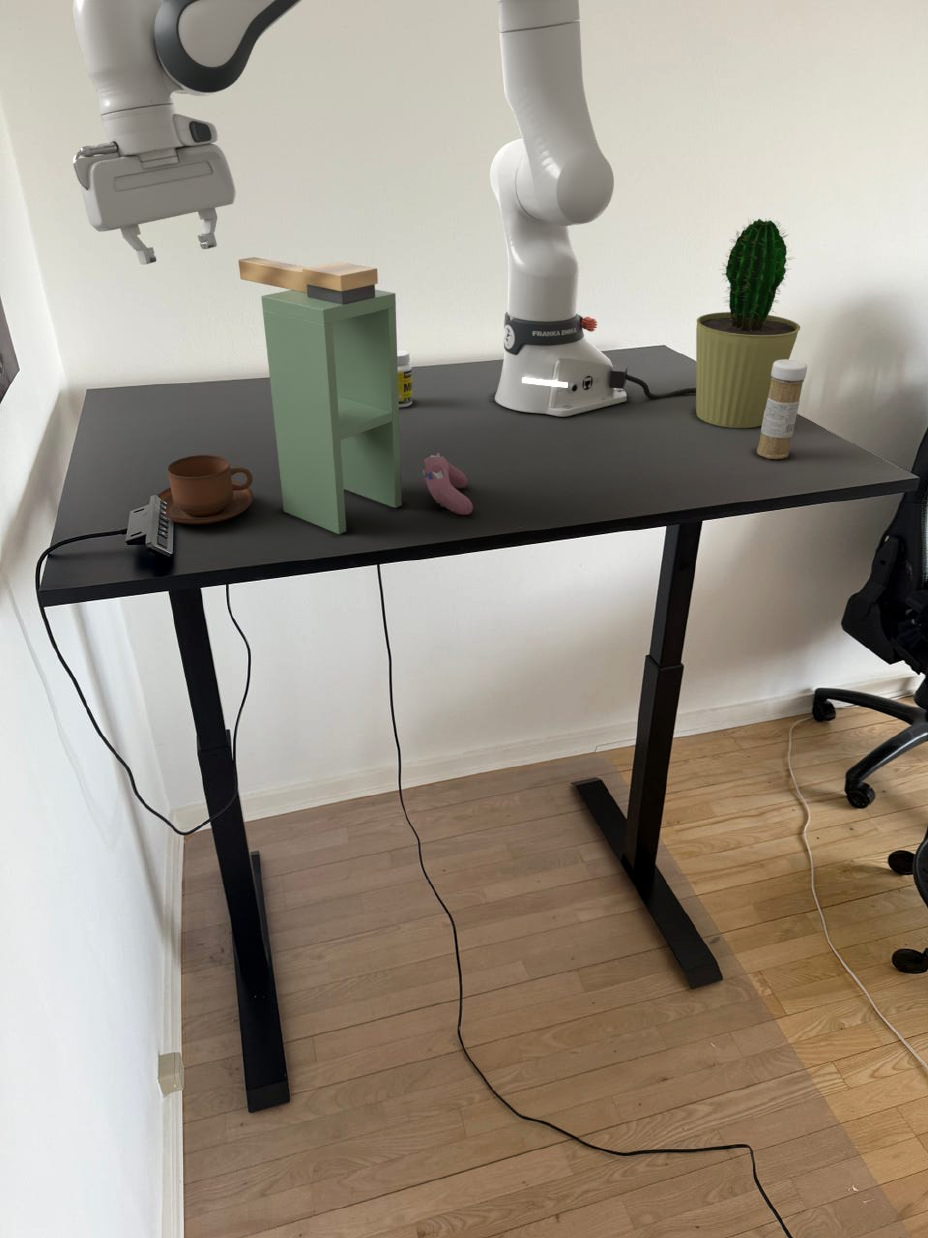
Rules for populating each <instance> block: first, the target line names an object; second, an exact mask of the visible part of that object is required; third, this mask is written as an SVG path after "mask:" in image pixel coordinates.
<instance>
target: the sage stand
mask: <svg viewBox="0 0 928 1238" xmlns="http://www.w3.org/2000/svg"><path fill="white" fill-rule="evenodd" d="M396 301H397V299H396V293H395V292H391V291H387V290H380V289H376V288H375V297H373V298H369V299H364V300H360V301H356V302H351V303H347V304H339V303H334V302H329V301H324V300H320V299H315V298H310V297H308V296H307V293H304V292H299V291H295V290H290V289H288V290H286V291H285V290H283V291H279V292H274V293H270V294H264V295H261V307H262V317H263V326H264V335H265V345H266V354H267V355H266V356H267V364H268V373H269V383H270V392H271V393H270V395H271V403H272V412H273V420H274V421H273V422H274V430H275V440H276V441H275V442H276V450H277V459H278V468H279V476H280V477H279V478H280V487H281V495H282V496H281V497H282V507H283V512H284V513H287V514H288V515H291V516H293V517H296V518H299V519H300V520H303V521H306V522H307V523H310V524H313V525H316V526H318V527H321V528H323V529H324V530H327V531H330V532H333V533H334V534H337V535H341V534H344V533H345V532H347V521H346V519H347V518H346V505H345V491H348V492H350V493H353V494H356V495H359V496H361V497H364V498H366V499H369V500H372V501H375V502H377V503H380V504H383V505H385V506H389V507H391V508H394V509H398V508H400V507H401V506H402V505H403V504H402V503H403V502H402V501H403V499H402V469H401V465H402V464H401V438H400V437H401V435H400V433H401V431H400V407H399V398H398V364H397V350H398V335H397V302H396Z"/></svg>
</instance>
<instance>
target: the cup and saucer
mask: <svg viewBox="0 0 928 1238" xmlns="http://www.w3.org/2000/svg"><path fill="white" fill-rule="evenodd" d="M166 469H167V476H168V480H169V485H170V487H168V488H165V490H163V491H160V493H158V494H157V495H156V496H158V497H159V498H160V499H161V500H163V501H165V502H166V503H167V504H166V511H165V512H166V514H164V515H165V516H166V517H167V518H169V519H170V520H171V521H170V520H169V521H170V522H173V523H177V524H182V525H193V526H194V525H196V526H198V525H208V524H209V525H210V524H215V523H220V522H223V521H227V520H230V519H233V518H235V517H236V516H239V515H240V514H242V513H243V512H245V511H246V510H247V509H248V508H249V506H250V505H251V504H252V503H253V499H254V492H253V490H252V489H251V488H250V487H251V486H252V483H253V474H252V472H251V471H250V470H249V469H248V468H246V467H244V466H237V467H232V468H231V464H230V461H229V460H228V459H227V458H225V457H223V456H220V455H215V454H214V455H213V454H196V455H191V456H190V455H189V456H185V457H182V458H179V459H176V460H174V461H172V462H171V463H169V464H168V466H167V468H166ZM238 473H242V474H244V475H245V476H246V482H245V483H242V482H238V481H235V480H232V476H234V475H235V474H238Z"/></svg>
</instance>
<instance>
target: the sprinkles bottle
mask: <svg viewBox="0 0 928 1238" xmlns="http://www.w3.org/2000/svg"><path fill="white" fill-rule="evenodd" d="M807 371H808V365H807V364H806V362H804V361H800V360H798V359H796V360H795V359H789V360H788V359H785V360H777V361H775V362H774V363H773V367H772V372H771V376H772V377H771V378H772V380H771V384H770V389H769V394H768V399H767V404H766V409H765V412H764V417H763V423H762V425H761V429H760V437H759V441H758V446H757V449H756V453H757V455H758V456H760V457H762V458H765V459H768V460H774V461H775V460H784V459H786V458H788V457H789V454H790V452H789V450H790V447H791V446H790V445H791V442H792V437H793V436H794V435H793V434H794V429H795V424H796V421H797V415H798V412H799V406H800V401H801V400H800V399H801V394H802V390H803V384H804V382H805V379H806V377H807Z"/></svg>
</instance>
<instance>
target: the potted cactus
mask: <svg viewBox="0 0 928 1238" xmlns="http://www.w3.org/2000/svg"><path fill="white" fill-rule="evenodd" d="M747 221H749V222H748V226H747V225H745V224H743V226H742V231H741V232H740V231H736V232H735V235H736V238H734V239H733V238H730V241H731V243H733V244H734V246H731V247H730V248H729V255H728V253H725V257H726V258H728V259H726V261H727V262H726V263H723V264H722V266H723V267H724V269H723V276H724V277H725V282H727V281H728V283H729V286H727V287H726V290H725V291H724V293H727V294H729V296H725V297H722V299H726V298H729V299H728V300H727V302H726V301H723V304H724V303H726V304H727V305H725V307H726V306H728V307H729V310H727V311H721V312H713V313H707V314H703V315H700V316H699V317H697V318H696V326H695V327H696V329H695V337H696V339H695V347H696V348H695V349H696V350H695V354H696V355H695V358H696V359H695V360H696V361H695V388H696V393H695V398H696V400H695V412H696V417H697V418H698V419H700V420H701V421H703V422H704V423H705V422H706V423H708V424H711V425H714V426H719V427H725V428H733V429H749V428H757V427H762V423H763V417H764V412H765V409H766V404H767V399H768V394H769V389H770V384H771V380H772V378H771V377H772V376H771V372H772V367H773V363H774V362H775V361H777V360H785V359H788V360H790V358H791V354H792V352H793V349H794V346H795V343H796V342H797V341H796V340H797V337H798V334H799V331H800V330H801V326H800V324H799V323H797V322H796V321H793V320H792V319H788V318H785V317H781V316H777V315H771V314H770V312H771V313H772V312H773V313H775V314H777V312H775V311H774V310H773V308H772V307H773V304H774V303H776V304H778V302H779V300H777V299H776V298H778V297H776V294H777V295H780V292H781V288H780V287H779V286H780V285H782V286H786V285H787V284H786V283H784V281H786V278H787V276H786V273H787V270H791V268H788V267H787V268H786V266H787V260H788V261H791V260H794V259H795V258H793V257H795V256H791V257H787V254H788V253H787V252H788V250H787V248H788V247H789V246H788V245H789V244H787V245H786V243H785V241H784V239H785V238H786V237H788V236H789V233H788V234H785V232H786V229H783V228H781V225H782V224H780V223H778V221H777V220H775V221H773V220H770V219H767V218H765V220H763V219H761V218H758V219H757V220H754V219H752V220H751V219H749V218H748V219H747ZM780 228H781V229H780ZM779 229H780V230H779ZM782 231H783V232H782ZM784 234H785V235H784ZM787 246H788V247H787ZM790 251H792V249H791V250H789V252H790ZM719 270H722V269H719ZM785 276H786V277H785ZM721 282H723V280H722V281H721ZM774 305H775V304H774Z"/></svg>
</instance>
